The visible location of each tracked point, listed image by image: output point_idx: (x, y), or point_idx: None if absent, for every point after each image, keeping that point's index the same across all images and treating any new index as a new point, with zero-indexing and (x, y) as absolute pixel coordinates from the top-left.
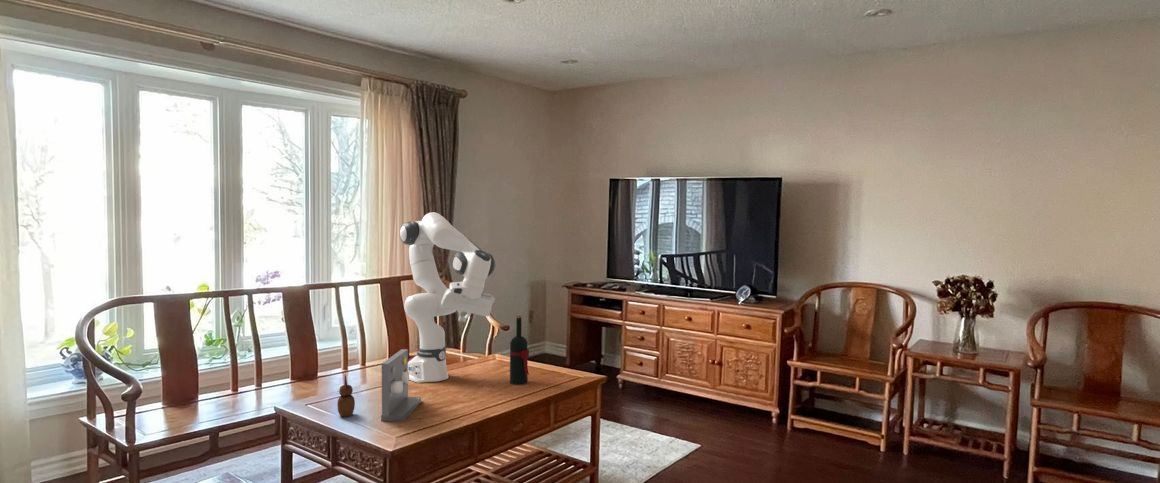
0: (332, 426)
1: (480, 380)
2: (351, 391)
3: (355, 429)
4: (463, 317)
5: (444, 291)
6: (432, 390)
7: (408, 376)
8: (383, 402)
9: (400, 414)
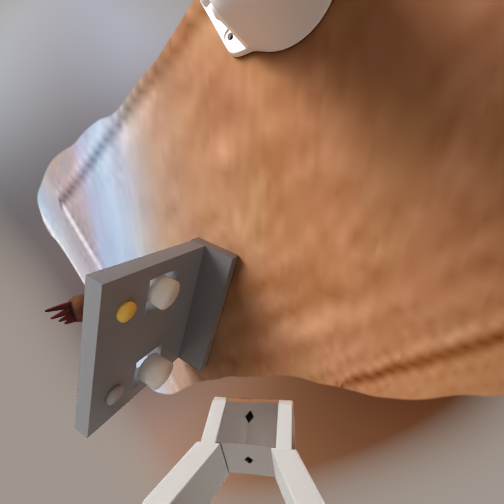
0: None
1: (469, 35)
2: None
3: None
4: (256, 464)
5: None
6: (269, 156)
7: (170, 286)
8: None
9: (196, 360)
